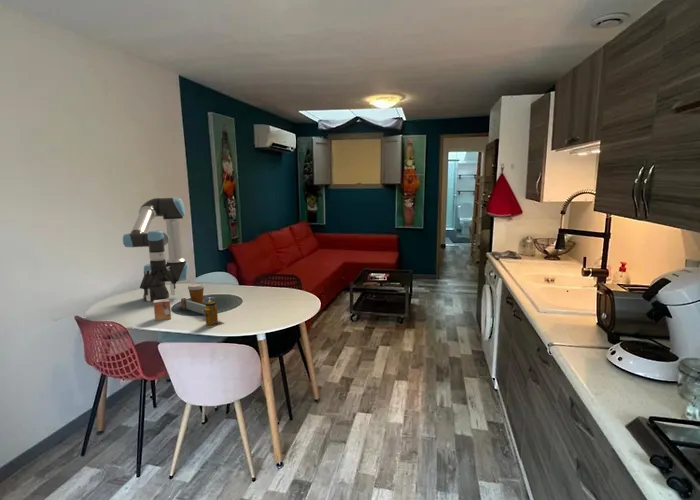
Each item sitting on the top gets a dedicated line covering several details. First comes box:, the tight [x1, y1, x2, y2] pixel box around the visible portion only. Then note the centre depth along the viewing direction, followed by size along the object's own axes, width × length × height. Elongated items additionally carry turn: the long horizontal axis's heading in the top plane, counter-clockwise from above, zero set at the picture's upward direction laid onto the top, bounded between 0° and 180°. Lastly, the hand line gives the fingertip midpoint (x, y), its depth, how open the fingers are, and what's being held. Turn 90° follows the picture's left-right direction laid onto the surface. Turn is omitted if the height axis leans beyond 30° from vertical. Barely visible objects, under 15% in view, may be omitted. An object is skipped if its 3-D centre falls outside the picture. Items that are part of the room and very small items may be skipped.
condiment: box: [202, 301, 224, 328], centre depth 202 cm, size 7×8×12 cm
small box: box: [153, 298, 172, 322], centre depth 210 cm, size 8×6×10 cm
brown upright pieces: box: [180, 297, 188, 310], centre depth 220 cm, size 29×2×6 cm, turn 55°
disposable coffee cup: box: [187, 282, 205, 304], centre depth 237 cm, size 10×10×12 cm
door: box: [185, 299, 206, 315], centre depth 220 cm, size 21×2×6 cm, turn 55°
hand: (161, 297), depth 208 cm, fingers open, 13 cm apart
